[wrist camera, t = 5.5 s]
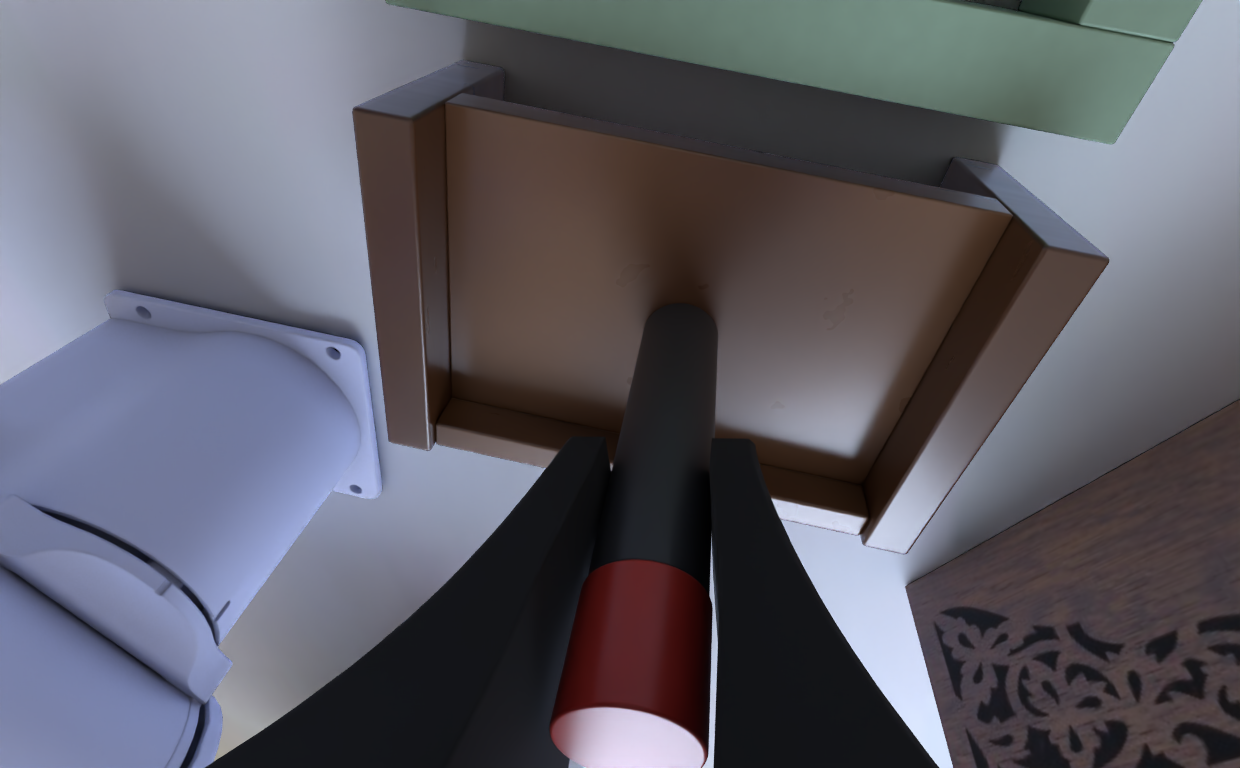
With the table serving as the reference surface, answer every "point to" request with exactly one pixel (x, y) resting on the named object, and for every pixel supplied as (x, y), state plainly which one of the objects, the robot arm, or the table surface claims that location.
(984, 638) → the tissue box cover
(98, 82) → the table surface
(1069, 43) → the pen stand
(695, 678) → the marker
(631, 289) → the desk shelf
